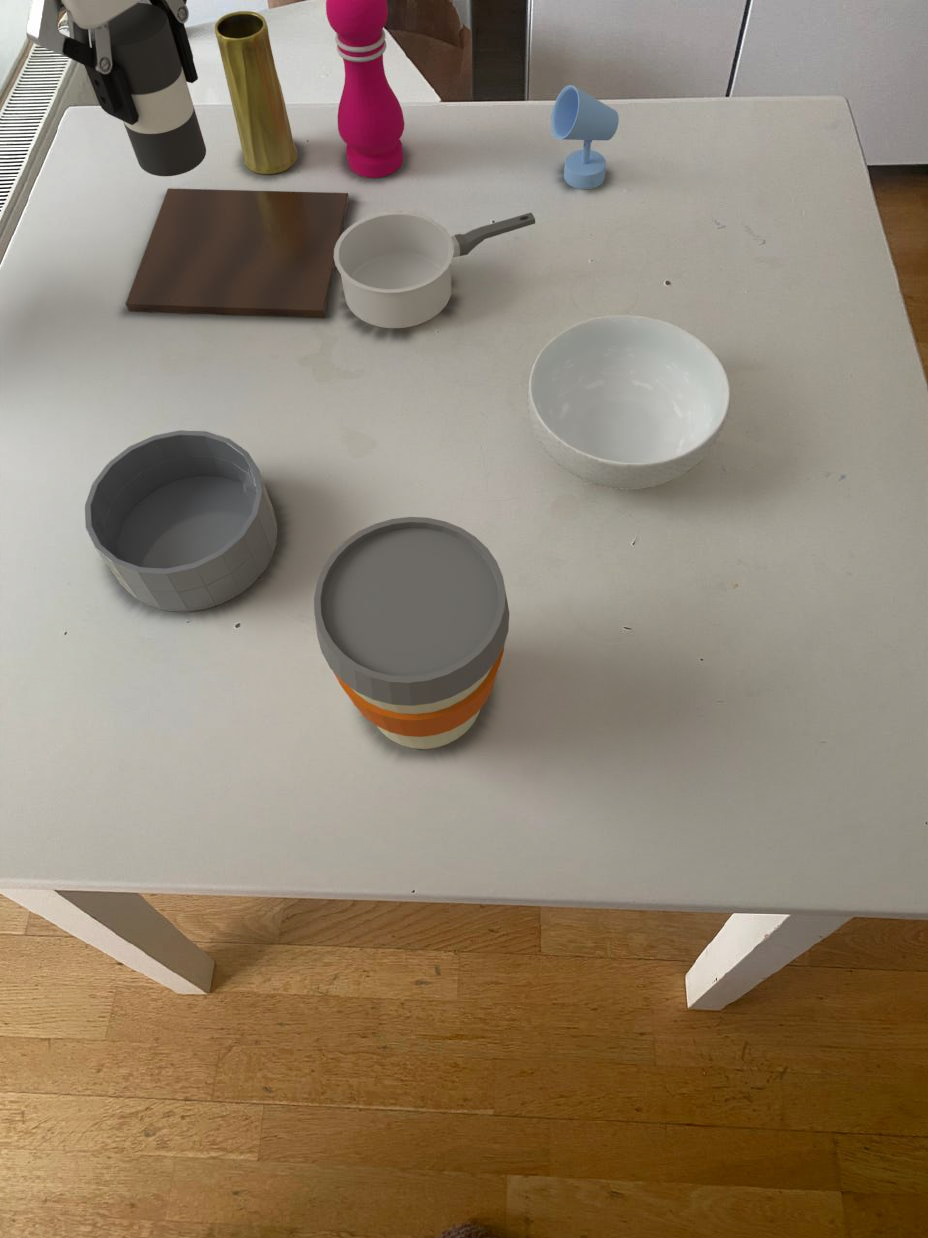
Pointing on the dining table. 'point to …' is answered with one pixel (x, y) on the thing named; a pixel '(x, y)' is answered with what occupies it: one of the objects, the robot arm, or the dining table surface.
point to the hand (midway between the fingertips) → (151, 93)
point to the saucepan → (404, 265)
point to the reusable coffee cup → (413, 627)
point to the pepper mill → (366, 88)
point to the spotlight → (583, 134)
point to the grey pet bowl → (182, 520)
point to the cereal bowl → (627, 400)
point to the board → (241, 253)
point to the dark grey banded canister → (156, 92)
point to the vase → (255, 92)
